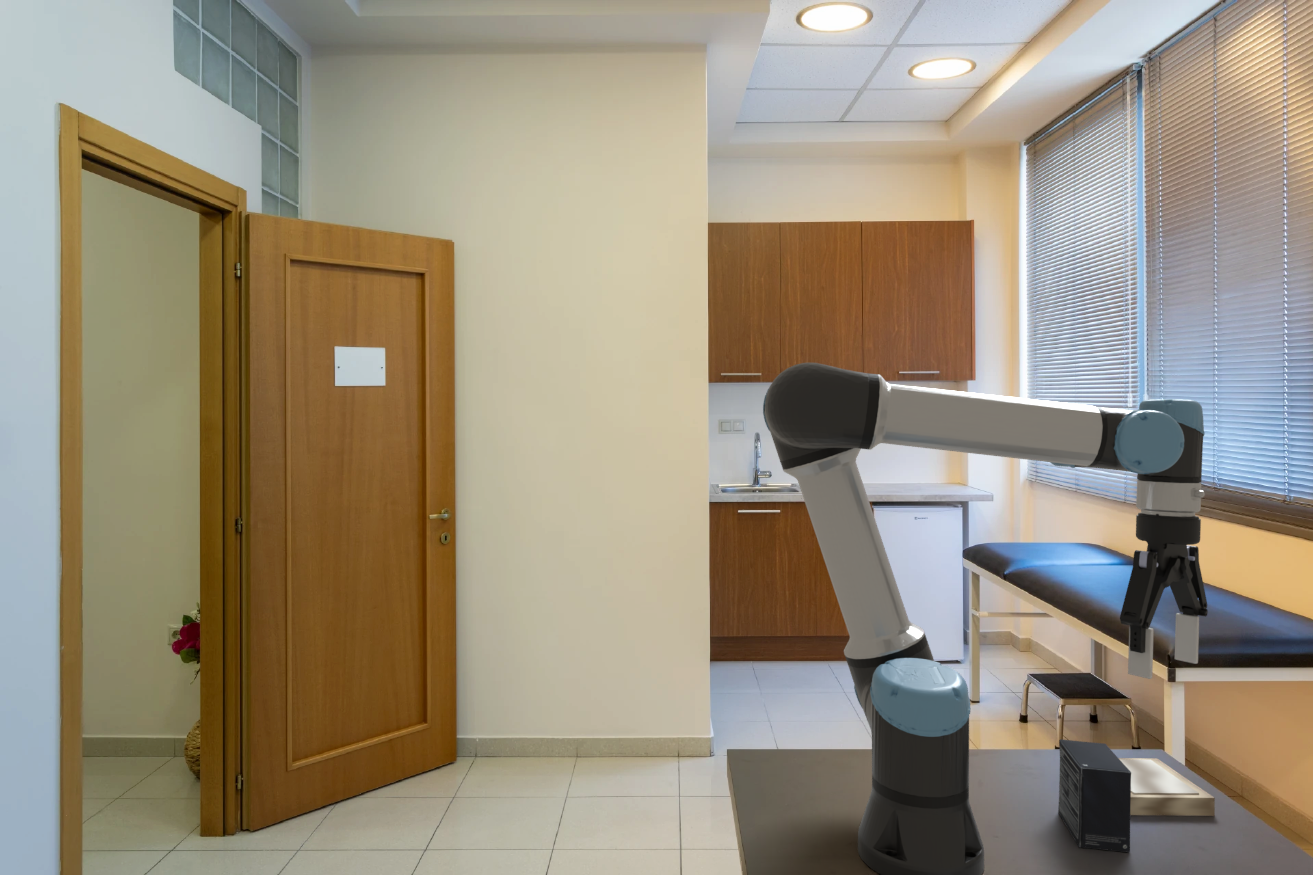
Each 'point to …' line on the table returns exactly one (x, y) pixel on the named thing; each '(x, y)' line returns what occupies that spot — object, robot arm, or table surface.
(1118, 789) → the small box
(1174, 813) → the beech picture frame
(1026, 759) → the table surface
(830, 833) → the table surface
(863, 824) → the robot arm
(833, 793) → the table surface
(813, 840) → the table surface
